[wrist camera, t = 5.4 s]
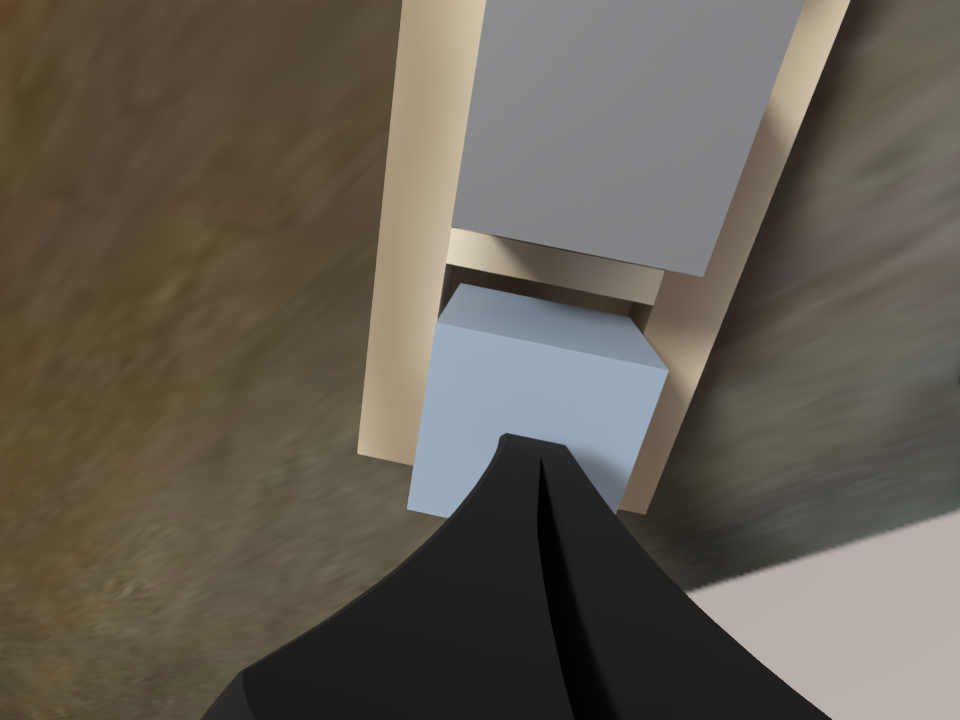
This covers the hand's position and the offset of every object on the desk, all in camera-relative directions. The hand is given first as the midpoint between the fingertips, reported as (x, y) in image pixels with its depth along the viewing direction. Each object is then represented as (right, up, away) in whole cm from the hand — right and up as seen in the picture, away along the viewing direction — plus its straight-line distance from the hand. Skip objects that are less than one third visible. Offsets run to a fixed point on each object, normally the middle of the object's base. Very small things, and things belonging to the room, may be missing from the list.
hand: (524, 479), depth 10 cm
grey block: (+2, +8, +2) cm, 9 cm away
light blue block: (+1, +2, +5) cm, 5 cm away
